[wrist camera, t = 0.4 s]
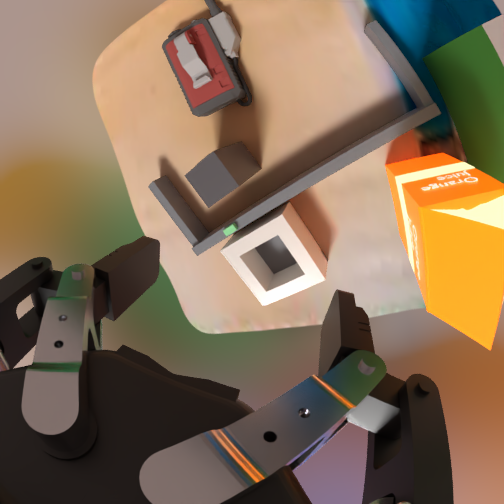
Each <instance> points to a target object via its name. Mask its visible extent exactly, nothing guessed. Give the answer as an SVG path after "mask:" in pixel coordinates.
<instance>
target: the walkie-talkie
mask: <svg viewBox="0 0 504 504" xmlns="http://www.w3.org/2000/svg"><path fill="white" fill-rule="evenodd" d="M205 2H206V4H207V6H208V7H209V9H210V14H211V16H212V18H210V19H208V20H207V19H204V18H202V19H199V20H193V21H192V22H191V24H190V25H188V26H187V27H185V28H183V29H179V30H176V31H173V32H172V33H171V34H170V35H169V36H168V37H169V38H168V39H167V40H165V41H164V43H163V45H162V48H163V50H164V53H165V55H166V57H167V59H168V61H169V64H170V66H171V68H172V70H173V72H174V74H175V77H176V78H177V81H178V82H179V84H180V88H181V89H182V92H183V93H184V95H185V99H186V100H187V103H188V104H189V107H190V109H191V111H192V114H193V115H196V116H198V117H200V116H208V115H210V114H212V113H214V112H216V111H218V110H220V109H222V108H224V107H226V106H228V105H230V104H232V103H234V102H238V103H239V104H240V105H242V106H248V105H250V104H251V103H252V95H251V93H250V91H249V89H248V87H247V85H246V82H245V80H244V78H243V76H242V74H241V72H240V70H239V67H238V59H237V58H239V56H238V54H237V53H238V49H239V45H240V42H241V38H240V36H239V34H238V32H237V30H236V28H235V27H234V25H233V23H232V19H231V17H230V15H229V14H227V13H226V12H222V11H221V9H220V8H218V6H217V4H216V2H215V1H214V0H205ZM231 58H232V59H233V60H234V61H233V60H232V59H231ZM246 94H247V97H248V101H247V102H246V103H243V101H242V100H241V99H243V98H245V96H246Z"/></svg>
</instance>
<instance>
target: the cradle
mask: <svg viewBox="0 0 504 504" xmlns="http://www.w3.org/2000/svg"><path fill="white" fill-rule="evenodd" d="M364 33H365V34H366V35H367V36H368V38H369V39H370V40H371V41H372V42H373V44H374V45H375V46H376V48H377V49H378V50H379V51H380V53H381V54H382V55H383V57H384V58H385V59H386V61H387V62H388V63H389V65H390V66H391V68H392V69H393V71H394V72H395V73H396V75H397V76H398V78H399V79H400V81H401V82H402V84H403V85H404V87H405V88H406V90H407V92H408V93H409V95H410V96H411V98H412V100H413V101H414V103H415V105H416V107H417V108H416V109H414V110H412V111H410V112H408V113H406V114H404V115H403V116H401V117H399V118H397V119H395V120H393V121H392V122H390V123H388V124H386V125H384V126H383V127H381V128H379V129H377V130H375V131H374V132H372V133H370V134H368V135H367V136H365V137H363V138H361V139H360V140H358V141H356V142H354V143H353V144H351V145H349V146H347V147H346V148H344V149H342V150H341V151H339V152H337V153H336V154H334V155H332V156H330V157H329V158H327V159H325V160H324V161H322V162H320V163H319V164H317V165H315V166H314V167H312V168H310V169H309V170H307V171H306V172H304V173H302V174H301V175H299V176H297V177H296V178H294V179H292V180H291V181H289V182H288V183H286V184H284V185H283V186H281V187H280V188H278V189H276V190H275V191H273V192H272V193H270V194H268V195H267V196H265V197H264V198H262V199H261V200H259V201H257V202H256V203H254V204H253V205H251V206H250V207H248V208H247V209H245V210H243V211H242V212H240V213H239V214H237V215H236V216H234V217H233V218H231V219H230V220H228V221H227V222H225V223H224V224H222V225H221V226H219V227H218V228H216V229H215V230H213V231H212V232H210V233H209V232H208V231H207V230H206V228H205V227H204V226H203V225H202V223H201V222H200V221H199V219H198V218H197V217H196V215H195V214H194V213H193V211H192V210H191V209H190V207H189V206H188V205H187V203H186V202H185V201H184V199H183V198H182V196H181V195H180V194H179V192H178V191H177V190H176V188H175V187H174V186H173V184H172V183H171V182H170V180H169V179H168V178H167V176H166V175H165V176H163V177H161V178H159V179H157V180H155V181H153V182H152V183H151V184H150V185H149V186H148V187H149V188H150V190H151V191H152V193H153V194H154V195H155V197H156V198H157V199H158V201H159V202H160V203H161V205H162V206H163V207H164V209H165V210H166V211H167V213H168V214H169V216H170V217H171V218H172V220H173V221H174V222H175V223H176V225H177V226H178V227H179V229H180V230H181V231H182V233H183V234H184V235H185V237H186V238H187V239H188V241H189V242H190V243H191V244H192V246H193V248H192V250H193V251H194V252H195V254H196V255H197V256H198V255H200V254H201V253H203V252H204V251H206V250H207V249H209V248H211V247H212V246H214V245H215V244H217V243H219V242H220V241H222V240H223V239H225V238H227V237H228V236H230V235H231V234H233V233H235V232H236V231H238V230H240V229H241V228H243V227H244V226H246V225H248V224H249V223H251V222H253V221H254V220H256V219H257V218H259V217H261V216H262V215H264V214H266V213H267V212H269V211H271V210H272V209H274V208H276V207H277V206H279V205H281V204H282V203H284V202H286V201H287V200H289V199H291V198H292V197H294V196H296V195H297V194H299V193H301V192H302V191H304V190H306V189H308V188H309V187H311V186H313V185H314V184H316V183H318V182H319V181H321V180H323V179H325V178H326V177H328V176H330V175H331V174H333V173H335V172H337V171H338V170H340V169H342V168H344V167H345V166H347V165H349V164H351V163H352V162H354V161H356V160H358V159H359V158H361V157H363V156H365V155H366V154H368V153H370V152H372V151H373V150H375V149H377V148H379V147H381V146H382V145H384V144H386V143H388V142H390V141H391V140H393V139H395V138H397V137H399V136H400V135H402V134H404V133H406V132H408V131H410V130H411V129H413V128H415V127H417V126H419V125H421V124H423V123H424V122H426V121H428V120H430V119H432V118H434V117H436V116H437V115H439V114H441V112H440V110H439V108H438V106H437V105H436V103H434V102H433V100H432V99H431V97H430V95H429V94H428V92H427V90H426V88H425V87H424V85H423V84H422V82H421V80H420V79H419V77H418V76H417V74H416V73H415V71H414V70H413V68H412V67H411V65H410V64H409V62H408V61H407V59H406V58H405V57H404V55H403V54H402V52H401V51H400V50H399V48H398V47H397V46H396V44H395V43H394V42H393V40H392V39H391V38H390V37H389V35H388V34H387V33H386V32H385V31H384V29H383V28H382V27H381V26H380V25H379V23H378V22H377V21H376V20H375V21H373V22H371V23H369V24H367V25H366V28H365V31H364Z"/></svg>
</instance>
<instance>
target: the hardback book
mask: <svg viewBox="0 0 504 504" xmlns="http://www.w3.org/2000/svg"><path fill="white" fill-rule="evenodd" d="M422 59H423V61H424V63H425V65H426V66H427V68H428V70H429V72H430V74H431V75H432V77H433V79H434V81H435V83H436V85H437V87H438V89H439V91H440V93H441V95H442V97H443V99H444V102H445V104H446V106H447V108H448V110H449V113H450V115H451V117H452V120H453V122H454V125H455V127H456V130H457V132H458V135H459V138H460V140H461V143H462V146H463V149H464V152H465V155H466V158H467V161H468V164H469V165H471V166H473V167H475V168H476V169H478V170H480V171H481V172H483V173H485V174H487V175H489V176H491V177H492V178H494V179H496V180H498V181H499V182H501V183H503V184H504V14H503V15H500V16H498V17H496V18H494V19H492V20H490V21H488V22H486V23H484V24H482V25H480V26H478V27H476V28H475V29H473V30H471V31H469V32H467V33H465V34H463V35H461V36H460V37H458V38H456V39H454V40H452V41H451V42H449V43H447V44H445V45H444V46H442V47H440V48H439V49H437V50H435V51H433V52H432V53H430V54H428V55H427V56H425V57H423V58H422Z"/></svg>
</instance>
